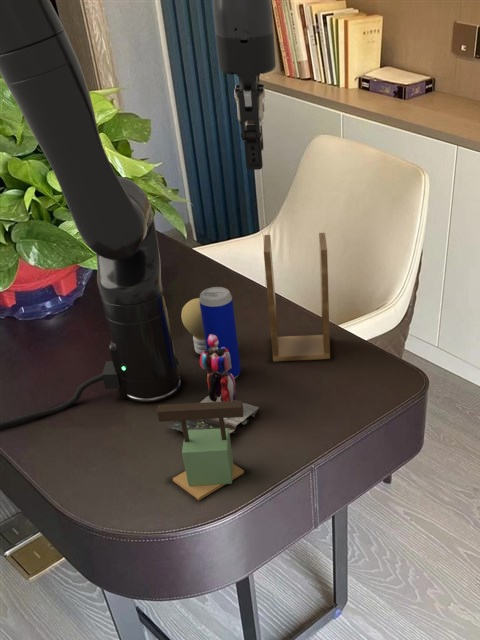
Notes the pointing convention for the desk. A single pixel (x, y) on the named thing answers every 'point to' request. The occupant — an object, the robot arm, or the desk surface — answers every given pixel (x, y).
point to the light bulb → (194, 324)
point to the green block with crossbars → (205, 440)
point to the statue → (217, 389)
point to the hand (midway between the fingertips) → (255, 159)
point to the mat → (203, 490)
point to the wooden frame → (298, 345)
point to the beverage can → (220, 322)
